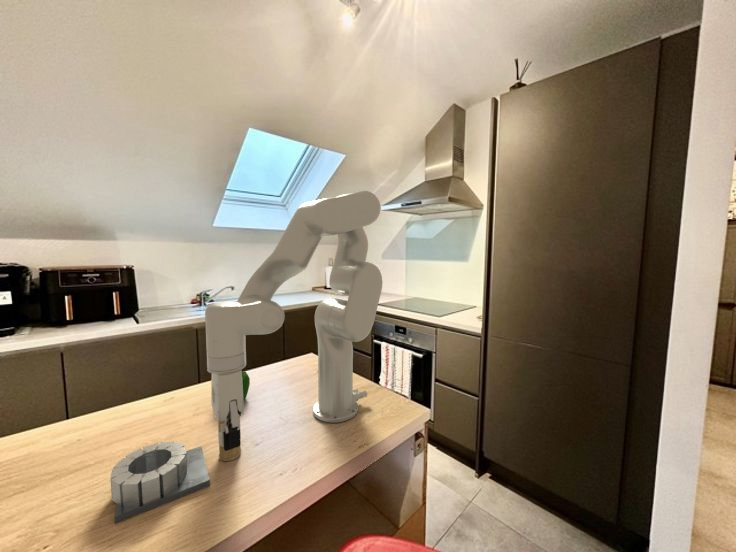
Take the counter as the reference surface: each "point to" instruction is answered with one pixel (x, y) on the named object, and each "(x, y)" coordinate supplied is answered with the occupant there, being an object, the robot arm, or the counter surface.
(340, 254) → the robot arm
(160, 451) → the collar block
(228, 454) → the sprinkles bottle
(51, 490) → the counter surface
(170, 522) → the counter surface
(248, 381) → the bell pepper
